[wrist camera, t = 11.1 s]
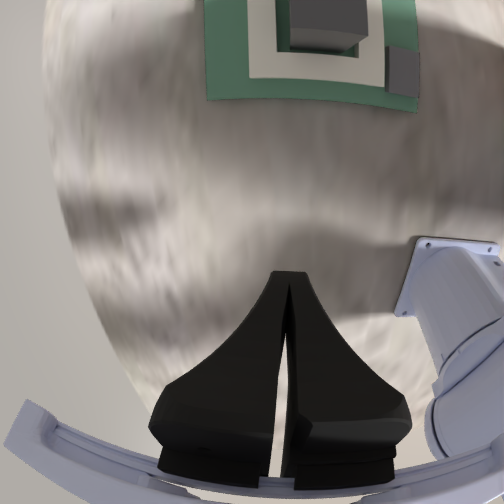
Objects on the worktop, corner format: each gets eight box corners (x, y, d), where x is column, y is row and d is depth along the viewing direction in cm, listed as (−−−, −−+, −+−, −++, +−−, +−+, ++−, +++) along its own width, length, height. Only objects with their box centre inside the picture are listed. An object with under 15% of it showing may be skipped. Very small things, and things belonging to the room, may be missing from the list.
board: (405, -29, 9) (416, -38, 7) (412, 112, 15) (424, 115, 13) (207, -42, 10) (198, -53, 9) (210, 100, 16) (201, 101, 14)
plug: (338, -16, 10) (359, -56, 5) (341, 53, 13) (368, 36, 8) (287, -20, 11) (286, -64, 6) (289, 49, 13) (291, 27, 8)
